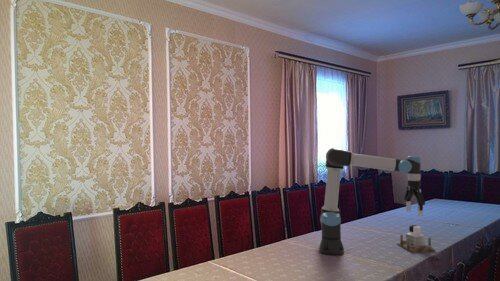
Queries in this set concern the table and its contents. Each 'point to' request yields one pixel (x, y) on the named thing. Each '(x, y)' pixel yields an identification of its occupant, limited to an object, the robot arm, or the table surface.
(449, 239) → the table surface
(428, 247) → the tray
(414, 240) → the container
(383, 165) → the robot arm
